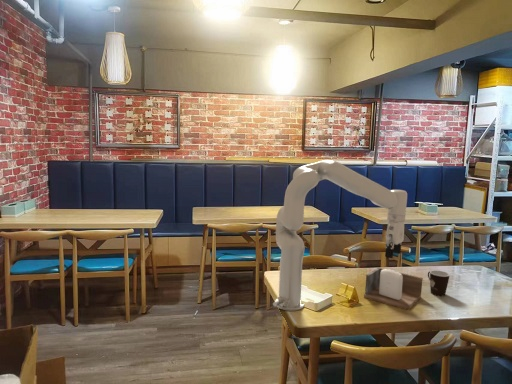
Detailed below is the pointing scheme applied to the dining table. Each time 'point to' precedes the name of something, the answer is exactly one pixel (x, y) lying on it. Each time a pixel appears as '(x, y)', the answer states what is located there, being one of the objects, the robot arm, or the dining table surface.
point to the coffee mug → (438, 282)
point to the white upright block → (391, 284)
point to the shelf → (409, 290)
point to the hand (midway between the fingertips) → (392, 255)
